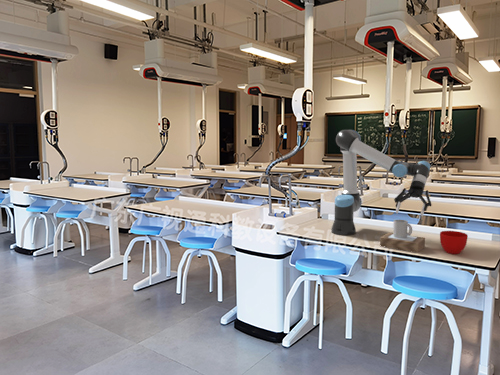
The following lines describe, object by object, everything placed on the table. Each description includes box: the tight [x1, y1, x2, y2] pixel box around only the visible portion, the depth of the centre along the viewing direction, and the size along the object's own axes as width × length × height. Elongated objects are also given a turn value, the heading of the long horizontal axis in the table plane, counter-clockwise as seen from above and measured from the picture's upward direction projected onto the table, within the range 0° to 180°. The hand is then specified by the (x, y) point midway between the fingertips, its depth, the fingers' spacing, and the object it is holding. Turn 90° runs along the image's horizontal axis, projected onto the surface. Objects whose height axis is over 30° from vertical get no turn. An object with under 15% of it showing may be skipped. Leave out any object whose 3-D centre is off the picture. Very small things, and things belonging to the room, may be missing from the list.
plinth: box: [379, 232, 426, 253], centre depth 221 cm, size 20×14×5 cm
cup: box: [392, 219, 413, 238], centre depth 220 cm, size 7×10×9 cm
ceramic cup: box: [439, 230, 468, 255], centre depth 211 cm, size 13×17×10 cm
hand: (408, 213), depth 223 cm, fingers open, 13 cm apart
